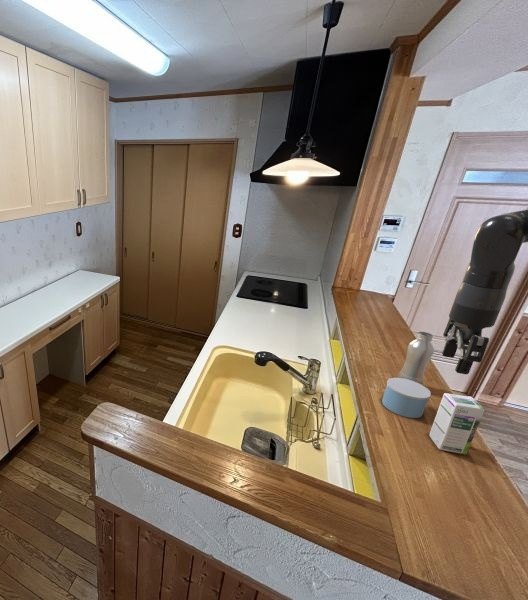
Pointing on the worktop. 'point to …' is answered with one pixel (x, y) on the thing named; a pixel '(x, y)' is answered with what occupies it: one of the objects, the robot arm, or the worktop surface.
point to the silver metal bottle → (417, 358)
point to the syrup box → (456, 423)
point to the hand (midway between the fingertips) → (454, 364)
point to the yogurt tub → (405, 397)
